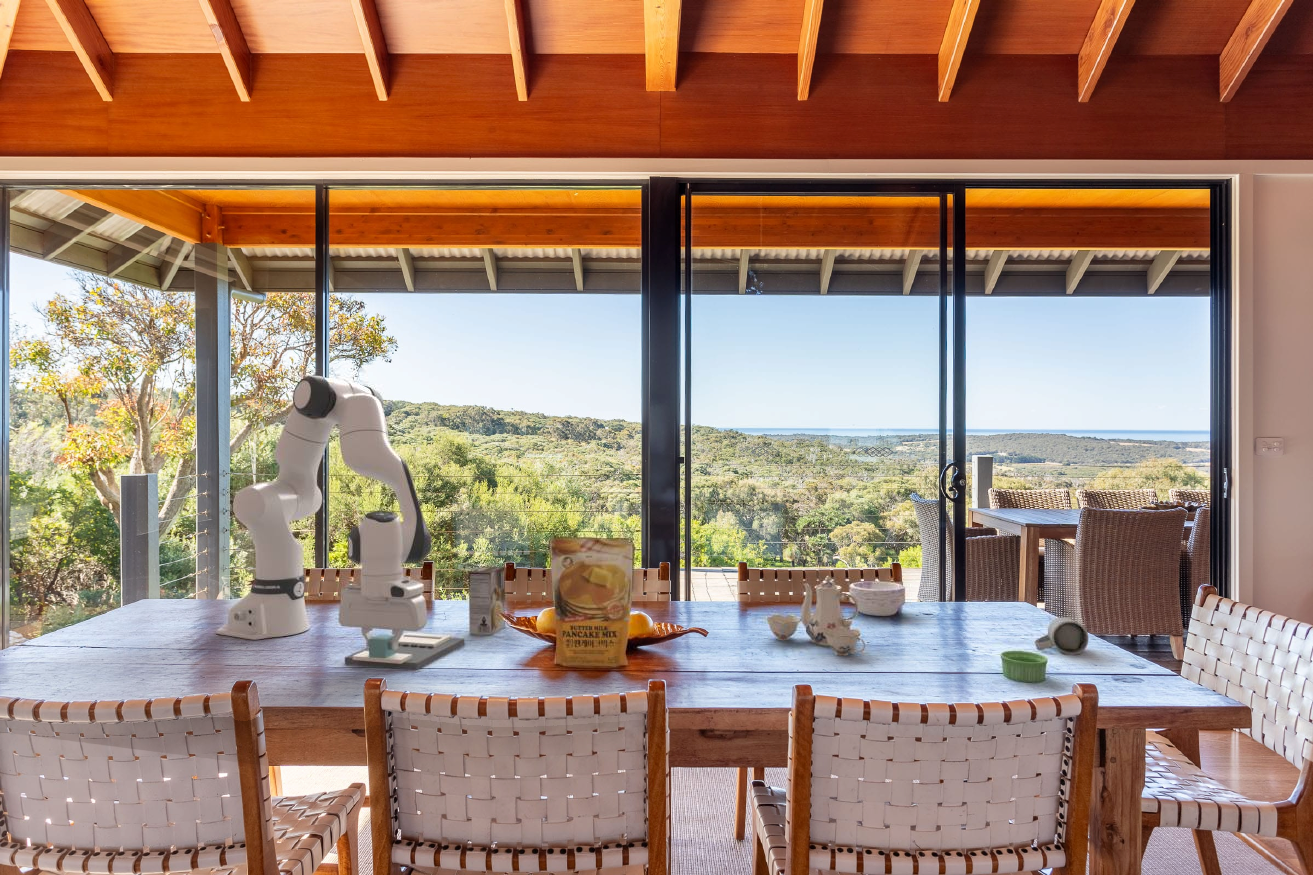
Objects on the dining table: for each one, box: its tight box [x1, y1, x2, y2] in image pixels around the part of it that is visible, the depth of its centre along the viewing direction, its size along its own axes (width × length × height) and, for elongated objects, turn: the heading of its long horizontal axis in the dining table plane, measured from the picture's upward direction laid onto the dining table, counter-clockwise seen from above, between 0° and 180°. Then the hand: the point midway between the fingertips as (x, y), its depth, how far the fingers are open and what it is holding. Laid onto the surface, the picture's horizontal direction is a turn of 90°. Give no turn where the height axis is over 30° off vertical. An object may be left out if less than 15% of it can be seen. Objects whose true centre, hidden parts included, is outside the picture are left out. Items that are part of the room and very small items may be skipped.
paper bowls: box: [849, 581, 906, 617], centre depth 224 cm, size 15×15×8 cm
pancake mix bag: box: [548, 536, 636, 669], centre depth 175 cm, size 7×19×28 cm, turn 85°
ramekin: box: [1000, 650, 1049, 684], centre depth 165 cm, size 9×9×4 cm
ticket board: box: [344, 631, 466, 671], centre depth 183 cm, size 18×21×2 cm
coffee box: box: [468, 565, 506, 636], centre depth 205 cm, size 9×6×16 cm
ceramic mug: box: [1034, 616, 1089, 656], centre depth 186 cm, size 11×8×8 cm
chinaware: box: [764, 575, 866, 657], centre depth 191 cm, size 28×17×17 cm, turn 47°
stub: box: [353, 634, 412, 664], centre depth 174 cm, size 12×4×5 cm, turn 75°
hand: (382, 648), depth 174 cm, fingers closed on stub, 4 cm apart
